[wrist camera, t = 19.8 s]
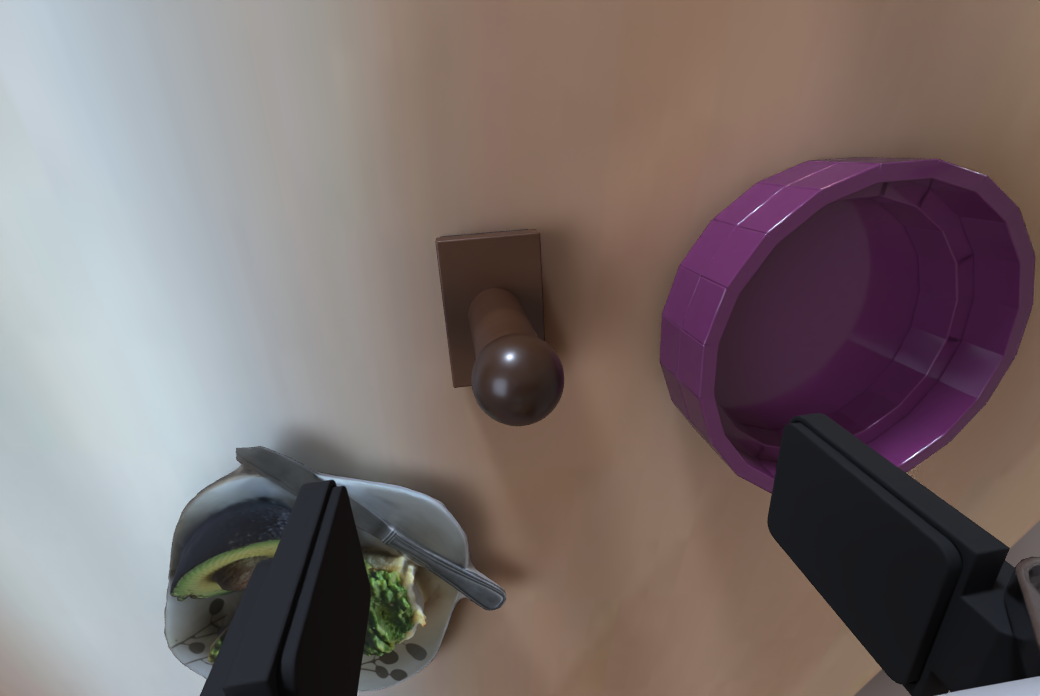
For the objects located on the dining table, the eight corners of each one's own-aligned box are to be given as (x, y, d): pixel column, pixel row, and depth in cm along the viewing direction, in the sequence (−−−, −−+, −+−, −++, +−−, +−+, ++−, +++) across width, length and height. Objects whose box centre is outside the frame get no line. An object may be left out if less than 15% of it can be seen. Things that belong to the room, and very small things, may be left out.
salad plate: (541, 480, 31) (557, 532, 27) (461, 680, 37) (464, 750, 32) (199, 414, 26) (154, 465, 22) (165, 656, 32) (123, 735, 28)
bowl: (661, 170, 26) (716, 176, 20) (967, 147, 28) (1087, 146, 23) (649, 462, 32) (689, 521, 27) (897, 425, 34) (977, 474, 29)
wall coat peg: (435, 232, 25) (434, 295, 14) (531, 224, 25) (598, 279, 15) (452, 368, 28) (461, 506, 17) (538, 358, 28) (599, 485, 18)
